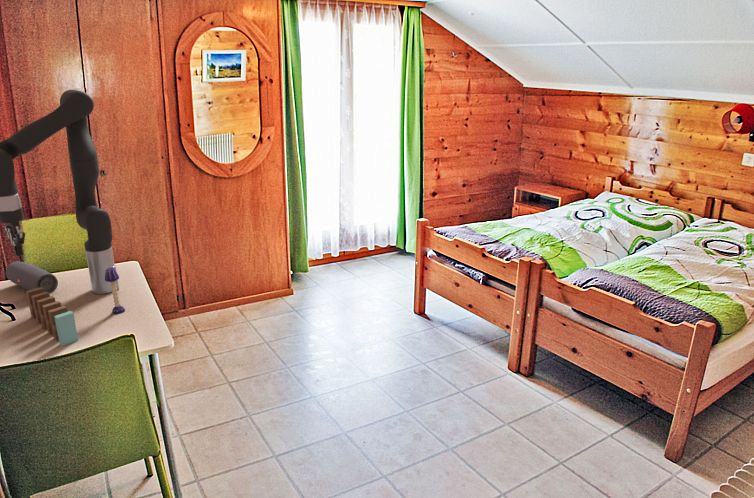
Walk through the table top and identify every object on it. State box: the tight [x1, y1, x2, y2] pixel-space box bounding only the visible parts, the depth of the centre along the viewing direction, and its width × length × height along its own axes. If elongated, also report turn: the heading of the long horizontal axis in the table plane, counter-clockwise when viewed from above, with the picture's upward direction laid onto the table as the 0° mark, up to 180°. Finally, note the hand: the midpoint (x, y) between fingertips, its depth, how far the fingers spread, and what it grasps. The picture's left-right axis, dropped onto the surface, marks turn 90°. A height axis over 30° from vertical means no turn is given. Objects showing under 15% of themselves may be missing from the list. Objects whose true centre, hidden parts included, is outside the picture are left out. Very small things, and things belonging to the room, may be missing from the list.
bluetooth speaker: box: [5, 260, 59, 295], centre depth 225 cm, size 23×9×10 cm, turn 56°
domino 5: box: [48, 305, 68, 341], centre depth 190 cm, size 2×5×10 cm, turn 140°
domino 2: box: [31, 292, 51, 325], centre depth 201 cm, size 2×5×10 cm, turn 140°
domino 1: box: [25, 287, 44, 320], centre depth 204 cm, size 2×5×10 cm, turn 140°
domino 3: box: [37, 295, 56, 330], centre depth 197 cm, size 2×5×10 cm, turn 140°
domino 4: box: [42, 300, 63, 336], centre depth 194 cm, size 2×5×10 cm, turn 140°
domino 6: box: [54, 310, 79, 347], centre depth 187 cm, size 2×5×10 cm, turn 140°
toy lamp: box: [105, 267, 126, 315], centre depth 207 cm, size 5×5×17 cm
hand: (19, 255), depth 204 cm, fingers closed
